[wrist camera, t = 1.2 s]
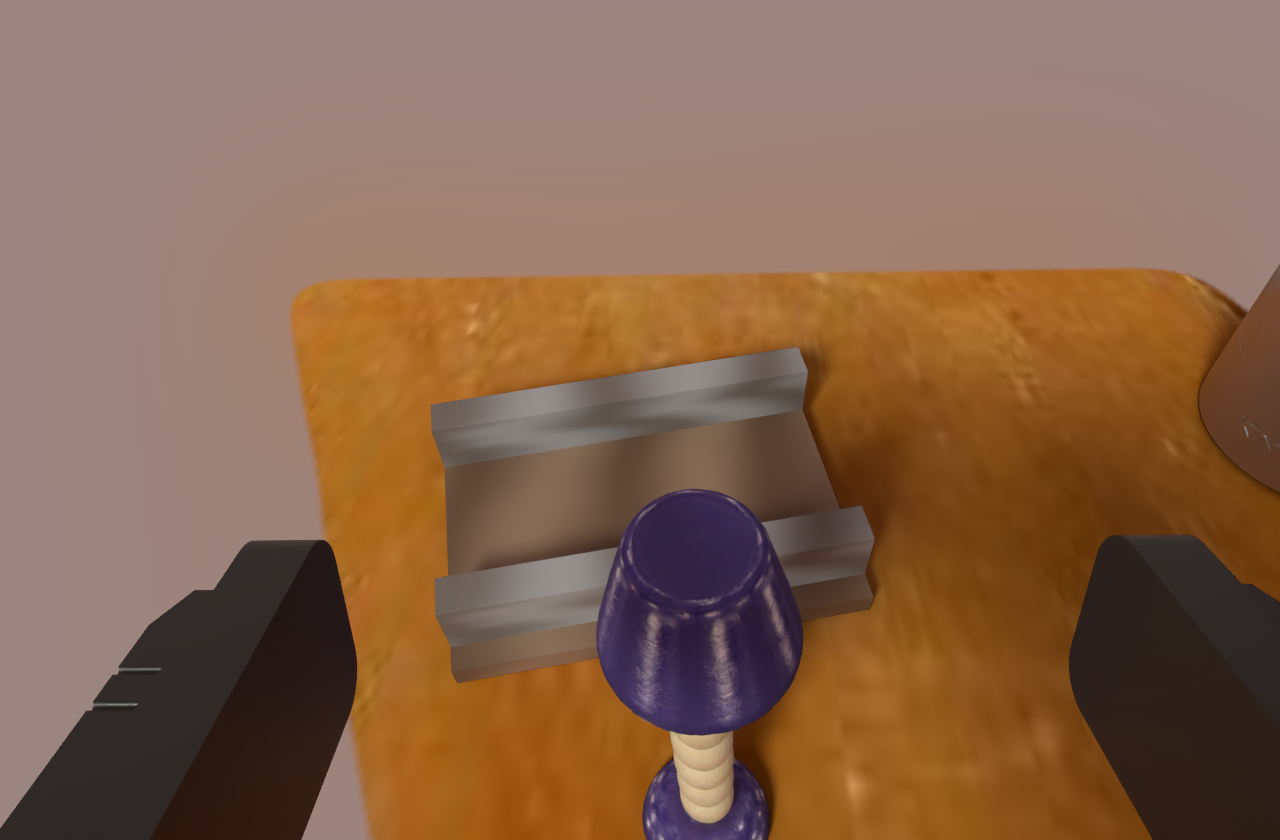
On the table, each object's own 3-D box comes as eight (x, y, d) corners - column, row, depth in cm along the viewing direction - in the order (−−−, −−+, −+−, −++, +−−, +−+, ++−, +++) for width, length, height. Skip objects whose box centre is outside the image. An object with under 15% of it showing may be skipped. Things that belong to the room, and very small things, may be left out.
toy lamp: (607, 849, 29) (539, 609, 16) (658, 719, 32) (633, 426, 19) (746, 909, 28) (790, 699, 15) (788, 768, 31) (854, 489, 18)
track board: (785, 384, 42) (791, 331, 39) (869, 609, 34) (884, 562, 32) (448, 438, 41) (430, 387, 38) (457, 683, 33) (436, 641, 30)
